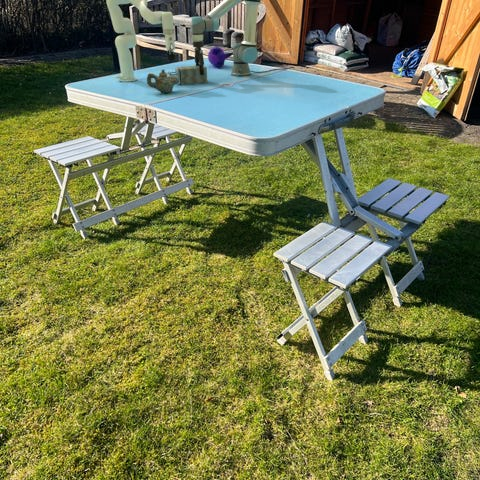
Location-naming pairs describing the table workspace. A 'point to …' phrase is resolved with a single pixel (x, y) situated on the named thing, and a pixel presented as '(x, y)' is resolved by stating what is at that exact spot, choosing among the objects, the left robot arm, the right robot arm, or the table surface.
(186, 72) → the cabinet
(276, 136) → the table surface
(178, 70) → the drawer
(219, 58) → the toy
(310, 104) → the table surface
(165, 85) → the teapot
